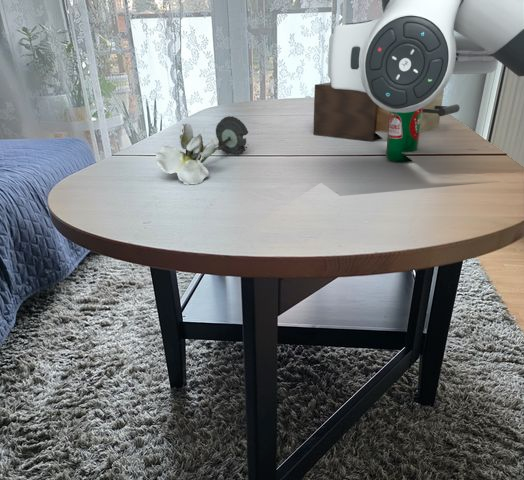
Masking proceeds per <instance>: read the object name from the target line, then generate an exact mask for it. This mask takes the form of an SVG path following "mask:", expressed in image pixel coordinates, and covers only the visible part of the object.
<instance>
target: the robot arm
mask: <svg viewBox="0 0 524 480" xmlns="http://www.w3.org/2000/svg"><path fill="white" fill-rule="evenodd" d="M381 9H382V12H383V14H382V15H381V16H380V17H379V18H376V19H374V20H372V19H369V20H366V21H359V22H348V23H347V22H346V23H344V24H337V25H335V26H333V27H334V28H333V33H331V34H330V35H329V38H328V53H327V77H328V79H329V80H330V82H331V86H332V88H334V89H341V90H348V91H357V92H363V93H367V94H368V96H369V97H370V98H371V99H372V100H373V102H374V103H376V104H377V105H378V106H379V107H381V108H383V109H385V110H388V111H392V112H398V113H408V112H413V111H416V110H419V109H421V108H423V107H424V106H426V105H428V104H429V103H431V102H432V101H433V100H434V99H435V98H436V97H437V96H438V95H439V94H440V93H441V92H442V91H443V89H444V90H445V88H446V86H447V85H448V83H449V81H450V80H451V77H452V75H483V74H490V73H494V72H495V71H496V70H497V66H498V62H499V63H501V64H502V65H503V66H505V67H506V68H507V69H508V70H510V71H511V72H512V73H513V74H515V75H516V76H517V77H524V0H381ZM454 32H456V33H458V34H459V35H455V33H454Z"/></svg>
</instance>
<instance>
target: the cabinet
mask: <svg viewBox="0 0 524 480" xmlns="http://www.w3.org/2000/svg"><path fill="white" fill-rule="evenodd" d="M313 97H314V100H313V128H312V129H313V133H312V134H313V136H320V137H328V138H329V137H330V138H337V139H347V140H354V141H355V140H357V141H363V142H371V143H372V142H376V141H380V140H383V139H384V138H383V137H382V136H380V135H379V134H378V133H377V131H376V121H377V109H378V105H377V104H376V103H374V102H373V100H372V99H371V98H370V97H369V96H368V94H367V93H363V92H357V91H348V90H341V89H334V88H332V86H331V81H329V82H324V83H317V84H314V96H313ZM375 133H376V134H375Z"/></svg>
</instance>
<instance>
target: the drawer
mask: <svg viewBox="0 0 524 480" xmlns="http://www.w3.org/2000/svg"><path fill="white" fill-rule="evenodd" d="M444 93H445V88H444V89H443V91H442V92H441V93H440V94H439V95H438V96H437V97H436V98H435V99H434V100H433V101H432V102H431V103H429V104H428V105H426V106H424V107H423V111H422V118H421V126H420V134H422V133H426V132H428V131H432V130H435V129H438V128H439V125H440V120H441V117H444V116H448V115H452V114H456V113H458V112H459V111H460V109H461V107H460V105H459V104H457V103H455V104H451V105H443V99H444ZM389 117H390V111H388V110H385V109H383V108H381V107H379V106H378V109H377V121H376V132H375V134H377V132H379V133H388V127H389Z"/></svg>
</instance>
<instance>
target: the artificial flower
mask: <svg viewBox="0 0 524 480" xmlns="http://www.w3.org/2000/svg"><path fill="white" fill-rule="evenodd" d="M248 134H249V130H248V128H247V127H246V125H245V124H244V123H243V122H242V121H241V120H240V119H239V118H238V117H235V116H230V115H228V116H225V117H223V118H222V119H221V120H220V121H218V123H217V125H216V126H215V137H216V138H214V139H212V140H211V141H210V142H208V143H207V144H205V145H204V141H203V136H202V134H201V133H199V134H197V136H194V131H193V128H192V125H191V123H182V124H181V127H180V132H179V137H178V140H179V144H180V147H181V148H182V149H183V150H185V152H184V151H181V150H178V149H177V148H176V147H173V146H169V145H164V146H161V148H160V150H159V151H158V152H157V153H155V162H156V164H157V165H158V167H159V168H160V170H162V172H164V173H166V174H170V175H171V174H176V175H177V178H178V180H179V181H181V182H183V185H187V186H189V185H198V184H201V183H203V181H204V180H205V179H206V178H207V177H209V176H210V175H209V170H208V168H207V167H206V166H205V165H204V164H203V163H204V162H205V161H206V160H207V159H208V158H209V157H210V156H212V155H213V154H215V153H216V152H217V151H218V150H219V151H222V152H223V153H224V154H227V155H229V154H231V155H237V156H238V155H242V154H244V152H246V150H247V149H248V146H249V143H247V138H246V137H245V136H247V135H248ZM246 145H247V146H246Z"/></svg>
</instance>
